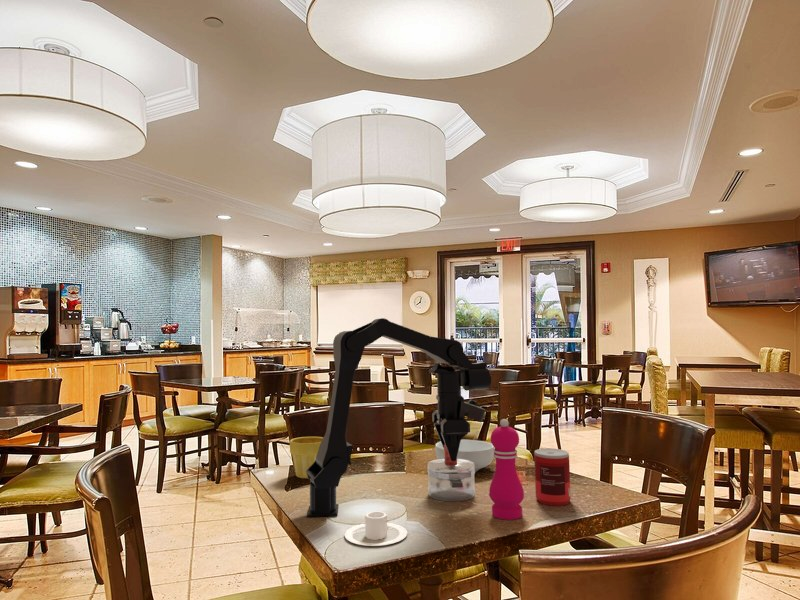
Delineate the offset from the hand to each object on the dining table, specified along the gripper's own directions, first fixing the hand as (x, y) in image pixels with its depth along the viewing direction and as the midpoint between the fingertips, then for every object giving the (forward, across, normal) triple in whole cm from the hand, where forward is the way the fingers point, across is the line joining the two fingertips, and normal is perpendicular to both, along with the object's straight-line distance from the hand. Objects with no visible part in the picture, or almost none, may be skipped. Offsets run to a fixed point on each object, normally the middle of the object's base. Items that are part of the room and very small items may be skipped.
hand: (450, 457), depth 128 cm
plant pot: (+9, +23, +36) cm, 44 cm away
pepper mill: (+9, -16, -9) cm, 20 cm away
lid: (+3, 0, 0) cm, 3 cm away
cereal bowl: (+9, +23, -8) cm, 26 cm away
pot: (+9, 0, 0) cm, 9 cm away
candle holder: (+9, -24, +19) cm, 32 cm away
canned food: (+9, -8, -22) cm, 25 cm away
